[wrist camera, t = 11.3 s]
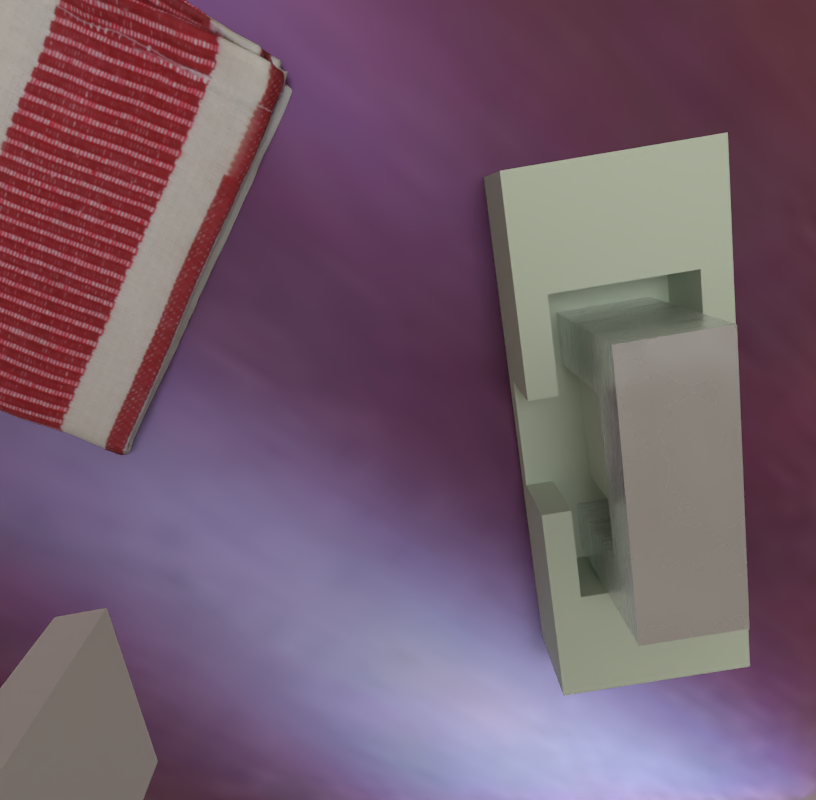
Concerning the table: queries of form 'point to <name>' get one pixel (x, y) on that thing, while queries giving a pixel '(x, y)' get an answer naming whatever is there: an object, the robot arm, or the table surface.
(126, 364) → the dish towel
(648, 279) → the rail
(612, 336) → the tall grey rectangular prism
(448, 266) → the table surface
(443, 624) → the table surface
